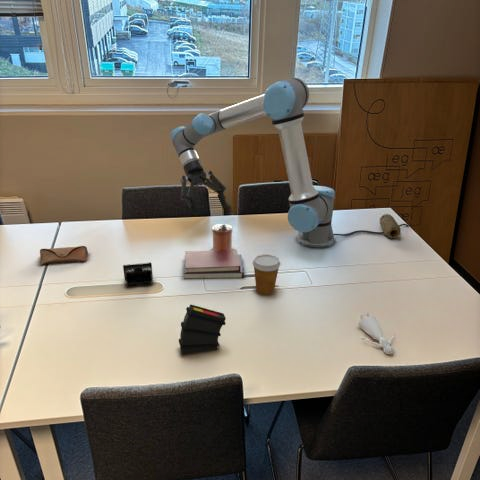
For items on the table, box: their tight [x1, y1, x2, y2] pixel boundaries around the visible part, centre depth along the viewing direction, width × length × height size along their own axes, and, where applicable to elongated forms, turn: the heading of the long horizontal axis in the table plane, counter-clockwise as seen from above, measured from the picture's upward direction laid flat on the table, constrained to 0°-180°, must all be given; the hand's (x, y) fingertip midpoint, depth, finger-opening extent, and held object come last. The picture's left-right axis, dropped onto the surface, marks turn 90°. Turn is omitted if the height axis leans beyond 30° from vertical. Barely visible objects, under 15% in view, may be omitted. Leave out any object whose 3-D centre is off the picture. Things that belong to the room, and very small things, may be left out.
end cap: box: [122, 261, 154, 289], centre depth 180 cm, size 10×7×7 cm
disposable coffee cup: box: [252, 254, 281, 296], centre depth 175 cm, size 10×10×12 cm
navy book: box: [183, 254, 245, 280], centre depth 190 cm, size 22×15×3 cm
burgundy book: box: [184, 249, 240, 273], centre depth 189 cm, size 20×14×2 cm
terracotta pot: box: [211, 223, 233, 251], centre depth 202 cm, size 8×8×10 cm
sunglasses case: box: [39, 245, 89, 266], centre depth 195 cm, size 18×7×7 cm, turn 104°
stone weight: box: [379, 213, 402, 239], centre depth 220 cm, size 15×7×7 cm, turn 5°
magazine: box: [178, 303, 227, 356], centre depth 145 cm, size 4×13×15 cm, turn 106°
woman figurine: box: [358, 313, 396, 355], centre depth 153 cm, size 12×4×18 cm
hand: (210, 210), depth 203 cm, fingers open, 13 cm apart
